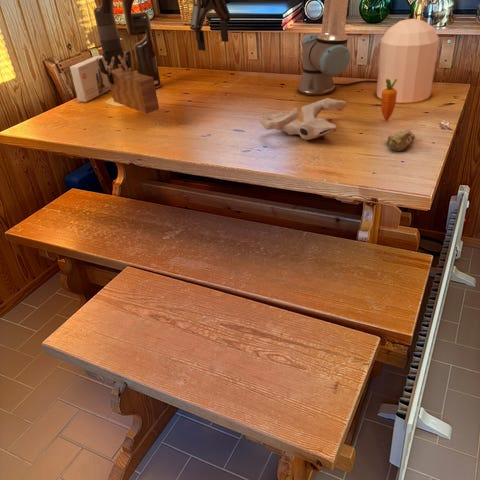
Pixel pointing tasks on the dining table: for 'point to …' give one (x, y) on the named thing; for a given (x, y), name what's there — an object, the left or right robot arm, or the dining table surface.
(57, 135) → the dining table surface
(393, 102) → the carrot
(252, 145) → the dining table surface
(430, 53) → the container
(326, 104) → the beige branched piece
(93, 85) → the skincare box
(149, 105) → the box
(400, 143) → the rock
